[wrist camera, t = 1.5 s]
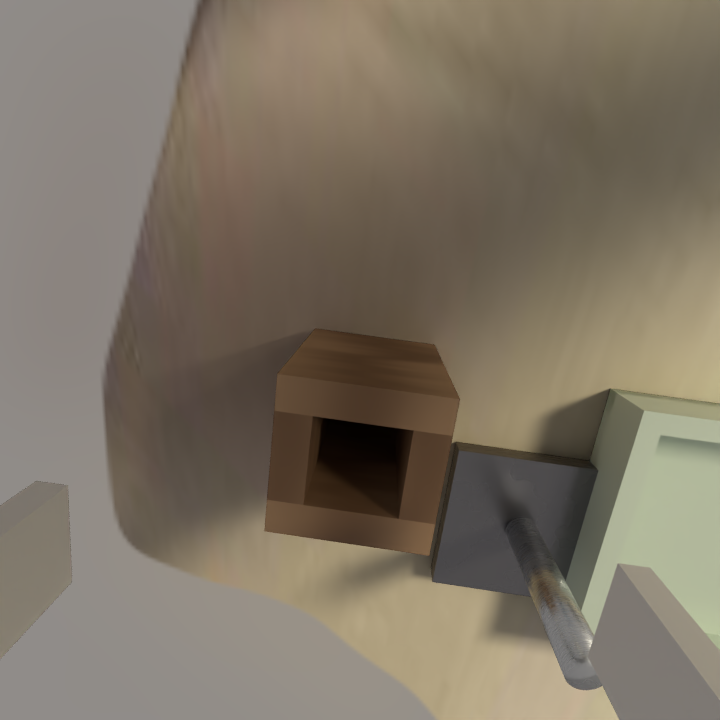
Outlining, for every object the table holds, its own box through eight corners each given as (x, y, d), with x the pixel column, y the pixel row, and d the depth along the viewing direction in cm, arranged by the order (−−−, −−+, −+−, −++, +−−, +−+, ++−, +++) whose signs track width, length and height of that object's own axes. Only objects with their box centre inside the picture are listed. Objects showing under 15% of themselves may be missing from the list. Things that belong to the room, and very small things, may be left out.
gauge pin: (608, 463, 23) (742, 595, 14) (570, 589, 25) (667, 771, 17) (456, 441, 23) (497, 559, 15) (430, 569, 25) (453, 738, 17)
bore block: (434, 344, 22) (459, 399, 14) (415, 453, 24) (429, 555, 16) (315, 328, 22) (277, 373, 15) (304, 437, 24) (264, 530, 16)
